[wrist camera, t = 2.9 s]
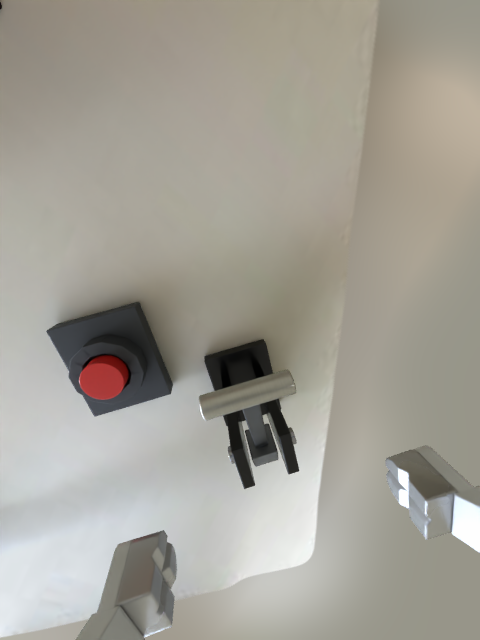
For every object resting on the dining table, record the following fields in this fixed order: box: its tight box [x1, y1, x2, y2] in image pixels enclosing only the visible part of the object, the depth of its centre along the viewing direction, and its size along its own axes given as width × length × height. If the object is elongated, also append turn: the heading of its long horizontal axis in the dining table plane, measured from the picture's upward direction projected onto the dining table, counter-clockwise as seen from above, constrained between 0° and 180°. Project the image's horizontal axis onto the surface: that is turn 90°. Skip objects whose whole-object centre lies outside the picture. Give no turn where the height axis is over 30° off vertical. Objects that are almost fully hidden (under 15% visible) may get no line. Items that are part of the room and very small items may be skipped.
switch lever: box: [199, 370, 296, 466], centre depth 19 cm, size 13×6×2 cm, turn 14°
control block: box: [46, 302, 173, 416], centre depth 27 cm, size 11×9×4 cm
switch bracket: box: [204, 339, 299, 489], centre depth 27 cm, size 10×8×12 cm
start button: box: [79, 355, 129, 400], centre depth 25 cm, size 4×4×2 cm
